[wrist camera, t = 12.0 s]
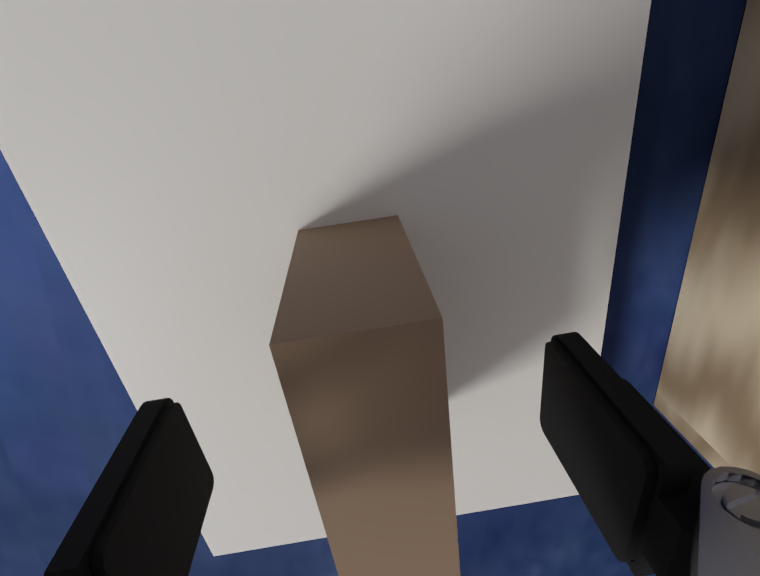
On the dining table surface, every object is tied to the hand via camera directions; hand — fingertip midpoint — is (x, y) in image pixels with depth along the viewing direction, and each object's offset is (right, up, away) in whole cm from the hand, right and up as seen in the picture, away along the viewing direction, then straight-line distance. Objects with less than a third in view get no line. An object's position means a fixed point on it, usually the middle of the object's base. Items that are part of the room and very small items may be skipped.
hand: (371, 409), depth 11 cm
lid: (0, +2, +5) cm, 5 cm away
